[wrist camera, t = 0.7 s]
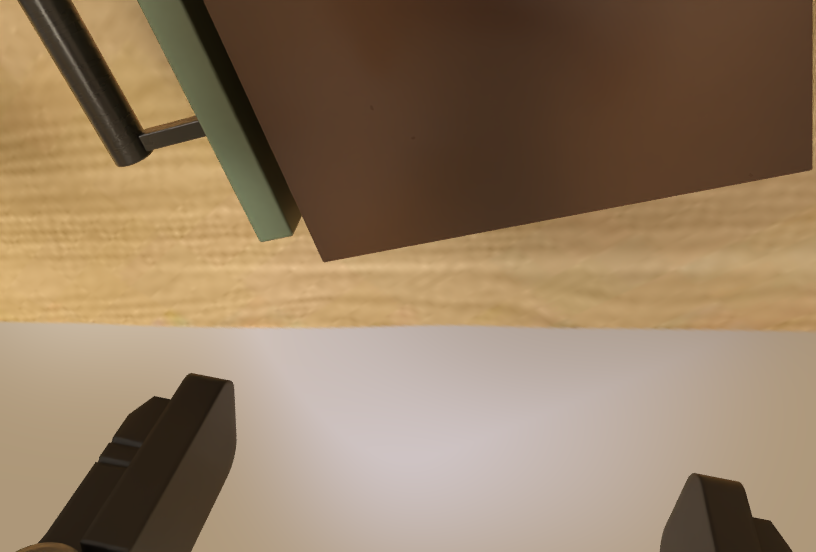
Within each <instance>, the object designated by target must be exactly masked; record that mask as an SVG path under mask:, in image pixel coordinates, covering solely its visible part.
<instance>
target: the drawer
mask: <svg viewBox="0 0 816 552" xmlns="http://www.w3.org/2000/svg"><path fill="white" fill-rule="evenodd" d="M137 1H138V3H139V5H140V7H141V9H142V11H143V13H144V14H145V16H146V18H147V20H148V22H149V24H150V26H151V28H152V30H153V32H154V34H155V36H156V38H157V40H158V42H159V44H160V46H161V48H162V50H163V52H164V54H165V56H166V58H167V60H168V62H169V64H170V66H171V68H172V70H173V72H174V73H175V75H176V77H177V79H178V81H179V83H180V85H181V87H182V89H183V91H184V93H185V95H186V97H187V99H188V101H189V103H190V105H191V107H192V109H193V111H194V113H195V115H196V116H193V117H189V118H185V119H181V120H178V121H174V122H170V123H166V124H163V125H159V126H155V127H151V128H148V129H145V130H144V129H143V128H142V126H141V124H140V122H139V120H138V119H137V117H136V115H135V113H134V112H133V110H132V108H131V106H130V104H129V103H128V101H127V99H126V97H125V95H124V94H123V92H122V90H121V88H120V86H119V85H118V83H117V81H116V79H115V77H114V76H113V74H112V72H111V70H110V69H109V67H108V65H107V63H106V61H105V60H104V58H103V56H102V54H101V52H100V51H99V49H98V47H97V45H96V43H95V42H94V40H93V38H92V36H91V34H90V33H89V31H88V29H87V27H86V26H85V24H84V22H83V20H82V18H81V17H80V15H79V13H78V11H77V9H76V8H75V6H74V4H73V2H72V0H18V2H19V4H20V5H21V7H22V9H23V10H24V12H25V14H26V15H27V17H28V19H29V21H30V22H31V24H32V26H33V27H34V29H35V31H36V32H37V34H38V36H39V37H40V39H41V41H42V42H43V44H44V46H45V47H46V49H47V51H48V52H49V54H50V56H51V57H52V59H53V61H54V62H55V64H56V66H57V67H58V69H59V71H60V72H61V74H62V76H63V77H64V79H65V81H66V82H67V84H68V86H69V87H70V89H71V91H72V92H73V94H74V96H75V97H76V99H77V101H78V102H79V104H80V106H81V107H82V109H83V111H84V112H85V114H86V116H87V117H88V119H89V121H90V122H91V124H92V126H93V127H94V129H95V131H96V132H97V134H98V136H99V137H100V139H101V141H102V142H103V144H104V146H105V147H106V149H107V151H108V152H109V154H110V156H111V157H112V159H113V161H114V162H115V164H116V165H117V166H118V167H125V166H130V165H133V164H135V163H137V162H139V161H141V160H143V159H145V158H146V157H148V156H149V155H150V154H151V153H152V152H153V150H154V149H158V148H162V147H166V146H170V145H173V144H177V143H181V142H185V141H189V140H193V139H197V138H201V137H205V136H207V138H208V140H209V142H210V144H211V146H212V148H213V150H214V152H215V154H216V156H217V158H218V160H219V162H220V164H221V166H222V168H223V170H224V172H225V174H226V176H227V178H228V180H229V182H230V184H231V186H232V188H233V190H234V191H235V193H236V195H237V197H238V199H239V201H240V203H241V205H242V207H243V209H244V211H245V213H246V215H247V217H248V219H249V221H250V223H251V225H252V227H253V229H254V231H255V233H256V235H257V237H258V239H259V241H260V242H265V241H270V240H274V239H279V238H284V237H289V236H292V235H293V234H294V232H295V230H296V228H297V225H298V223H299V221H300V219H301V217H302V215H301V212H300V210H299V208H298V206H297V204H296V201H295V199H294V197H293V195H292V193H291V191H290V188H289V186H288V184H287V182H286V180H285V178H284V175H283V173H282V171H281V169H280V167H279V164H278V162H277V160H276V158H275V156H274V154H273V151H272V149H271V147H270V145H269V143H268V140H267V138H266V136H265V134H264V132H263V130H262V127H261V125H260V123H259V121H258V119H257V116H256V114H255V112H254V110H253V108H252V106H251V103H250V101H249V99H248V97H247V95H246V92H245V90H244V88H243V86H242V84H241V82H240V79H239V77H238V75H237V73H236V71H235V69H234V66H233V64H232V62H231V60H230V58H229V55H228V53H227V51H226V49H225V47H224V45H223V42H222V40H221V38H220V36H219V34H218V31H217V29H216V27H215V25H214V23H213V21H212V18H211V16H210V14H209V12H208V10H207V7H206V5H205V3H204V1H203V0H137Z"/></svg>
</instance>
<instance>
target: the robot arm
mask: <svg viewBox="0 0 816 552" xmlns="http://www.w3.org/2000/svg"><path fill="white" fill-rule="evenodd" d="M234 398H235V397H234V385H233V382H232V381H230V380H224V379H219V378H214V377H209V376H203V375H198V374H193V373H190V374H188V375H187V376H186V377H185V378H184V380H183V381H182V383H181V384H180V386H179V388H178V389H177V391H176V392H175V394H174V395H173V397H172V398H171V400H170V399H166V398H161V397H155V396H154V397H153V398H151V399H150V400H148V401H147V402H146V403H144V404H143V405H141V406H140V407H139V408H138V409H136V410H134V411H133V412H132V413H130V414H129V415H128V416H127V418H126V419H125V421H124V422H123V424H122V425H121V426H120V428H119V429H118V431H117V432H116V434H115V435H114V437H113V439H112V442H111V443H109V444H108V445H107V447H106V448H105V450H104V451H103V453H102V454H101V455H100V457H99V461H98V462H95V464H94V466H93V467H92V468H91V470H90V471H89V473H88V474H87V476H86V477H85V478H84V480H83V481H82V483H81V484H80V486H79V487H78V488H77V490H76V491H75V493H74V494H73V496H72V497H71V499H70V500H69V501H68V503H67V504H66V506H65V507H64V509H63V510H62V512H61V513H60V514H59V516H58V518H57V519H56V520H55V522H54V523H53V525H52V526H51V527H50V529H49V530H48V532H47V533H46V534H45V536H44V537H43V538H42V539H41V540H40V541H39V542H38V543H37V544H34V545H30V546H27V547H25V548H22V549H20V550H18V551H16V552H191V551H192V548H193V546H194V544H195V542H196V540H197V538H198V536H199V534H200V532H201V530H202V528H203V525H204V523H205V522H206V520H207V518H208V515H209V513H210V511H211V509H212V507H213V505H214V503H215V501H216V499H217V497H218V495H219V493H220V491H221V489H222V486H223V485H224V482H225V480H226V478H227V476H228V474H229V471H230V469H231V466H232V463H233V459H234V455H235V450H236V419H235V399H234ZM660 552H792V550H791V549H790V547H789V546H788V544H787V543H786V542H785V540H784V539H783V537H782V536H781V535H780V533H779V532H778V531H777V529H776V528H775V527H774V525H773V524H772V522H771V521H769V520H764V519H759V518H754V517H752V514H751V510H750V506H749V503H748V499H747V496H746V492H745V489H744V487H743V485H742V484H741V483H740V482H737V481H732V480H727V479H722V478H717V477H711V476H707V475H702V474H696V473H693V474H691V475H690V476H689V477H688V479H687V481H686V483H685V486H684V488H683V490H682V492H681V494H680V496H679V498H678V500H677V502H676V505H675V507H674V509H673V511H672V513H671V515H670V517H669V519H668V522H667V524H666V526H665V528H664V531H663V535H662V540H661V545H660Z"/></svg>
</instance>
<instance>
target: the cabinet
mask: <svg viewBox="0 0 816 552" xmlns="http://www.w3.org/2000/svg"><path fill="white" fill-rule="evenodd" d="M203 1H204V3H205V5H206V7H207V10H208V12H209V14H210V16H211V18H212V21H213V23H214V25H215V27H216V29H217V31H218V34H219V36H220V38H221V40H222V42H223V45H224V47H225V49H226V51H227V53H228V55H229V58H230V60H231V62H232V64H233V66H234V69H235V71H236V73H237V75H238V77H239V79H240V82H241V84H242V86H243V88H244V90H245V92H246V95H247V97H248V99H249V101H250V103H251V106H252V108H253V110H254V112H255V114H256V116H257V119H258V121H259V123H260V125H261V127H262V130H263V132H264V134H265V136H266V138H267V140H268V143H269V145H270V147H271V149H272V151H273V154H274V156H275V158H276V160H277V162H278V164H279V167H280V169H281V171H282V173H283V175H284V178H285V180H286V182H287V184H288V186H289V188H290V191H291V193H292V195H293V197H294V199H295V201H296V204H297V206H298V208H299V210H300V212H301V215H302V217H303V219H304V221H305V223H306V225H307V228H308V230H309V232H310V234H311V236H312V239H313V241H314V243H315V245H316V247H317V249H318V252H319V254H320V256H321V258H322V260H323V262H328V261H333V260H338V259H344V258H349V257H354V256H360V255H365V254H370V253H376V252H381V251H386V250H391V249H397V248H402V247H407V246H413V245H418V244H423V243H428V242H434V241H439V240H444V239H450V238H455V237H460V236H465V235H471V234H476V233H481V232H487V231H492V230H497V229H503V228H508V227H513V226H518V225H524V224H529V223H534V222H540V221H545V220H550V219H555V218H561V217H566V216H571V215H577V214H582V213H587V212H592V211H598V210H603V209H608V208H614V207H619V206H624V205H630V204H635V203H640V202H645V201H651V200H656V199H661V198H667V197H672V196H677V195H682V194H688V193H693V192H698V191H704V190H709V189H714V188H720V187H725V186H730V185H735V184H741V183H746V182H751V181H757V180H762V179H767V178H772V177H778V176H783V175H788V174H794V173H799V172H804V171H809V170H812V69H813V0H203Z"/></svg>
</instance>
